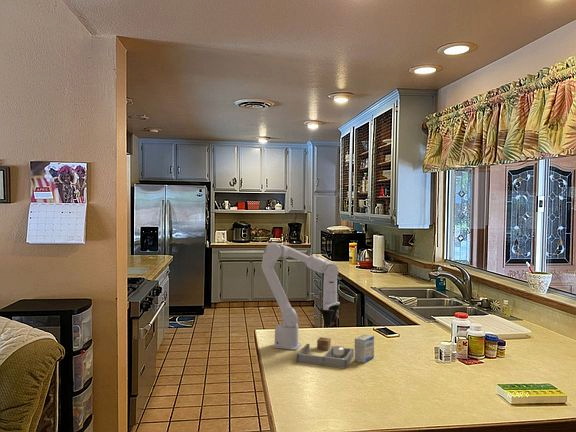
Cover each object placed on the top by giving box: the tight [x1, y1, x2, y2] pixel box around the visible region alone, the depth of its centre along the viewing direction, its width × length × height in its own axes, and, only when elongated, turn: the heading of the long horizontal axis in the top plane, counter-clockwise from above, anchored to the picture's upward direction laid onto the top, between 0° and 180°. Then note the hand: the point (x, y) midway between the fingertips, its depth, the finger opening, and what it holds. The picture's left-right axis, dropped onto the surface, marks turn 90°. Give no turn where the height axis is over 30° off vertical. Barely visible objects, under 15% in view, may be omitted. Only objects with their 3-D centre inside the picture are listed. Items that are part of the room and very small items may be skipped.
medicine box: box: [354, 333, 375, 364], centre depth 175 cm, size 8×4×9 cm, turn 143°
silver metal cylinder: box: [332, 345, 345, 359], centre depth 173 cm, size 4×4×5 cm
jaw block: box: [316, 337, 332, 352], centre depth 188 cm, size 4×4×4 cm
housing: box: [296, 343, 355, 369], centre depth 174 cm, size 19×14×3 cm
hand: (329, 323), depth 191 cm, fingers open, 7 cm apart
